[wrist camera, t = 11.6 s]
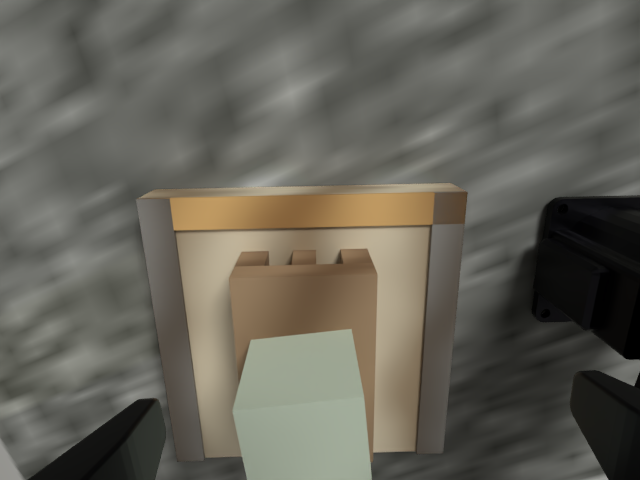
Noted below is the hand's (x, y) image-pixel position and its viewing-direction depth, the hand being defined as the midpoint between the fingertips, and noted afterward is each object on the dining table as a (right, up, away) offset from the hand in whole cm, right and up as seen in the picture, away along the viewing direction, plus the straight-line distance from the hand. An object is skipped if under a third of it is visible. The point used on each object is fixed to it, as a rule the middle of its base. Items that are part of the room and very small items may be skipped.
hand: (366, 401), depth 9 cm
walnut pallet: (-2, -1, +11) cm, 11 cm away
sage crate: (-2, -2, +8) cm, 8 cm away
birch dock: (-2, -1, +13) cm, 13 cm away
